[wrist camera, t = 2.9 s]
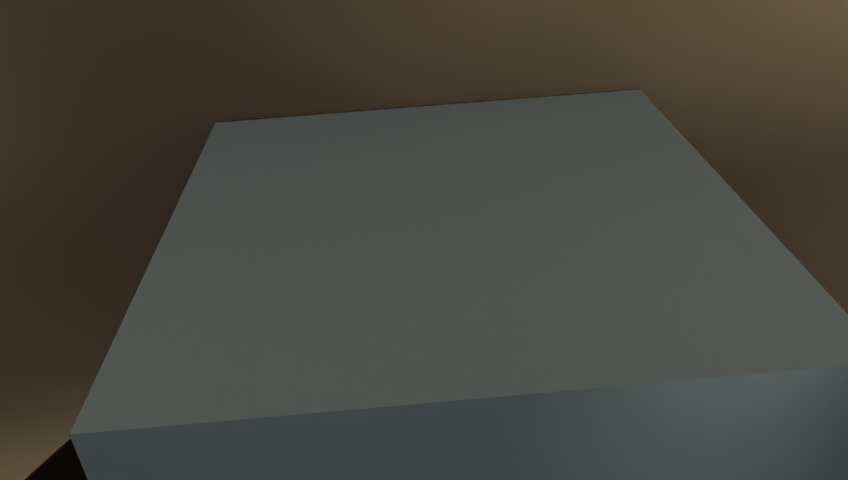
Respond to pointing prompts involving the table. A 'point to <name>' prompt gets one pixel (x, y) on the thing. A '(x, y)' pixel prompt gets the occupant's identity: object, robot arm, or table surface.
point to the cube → (469, 310)
